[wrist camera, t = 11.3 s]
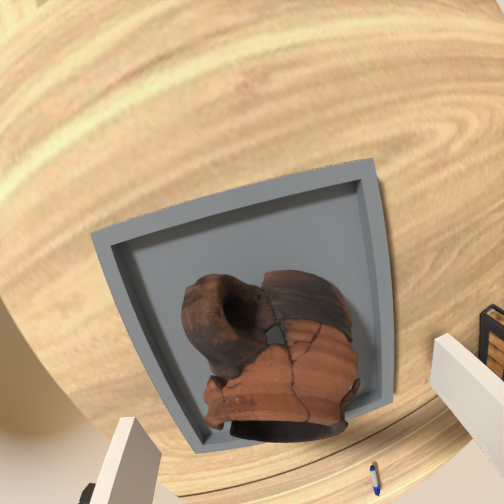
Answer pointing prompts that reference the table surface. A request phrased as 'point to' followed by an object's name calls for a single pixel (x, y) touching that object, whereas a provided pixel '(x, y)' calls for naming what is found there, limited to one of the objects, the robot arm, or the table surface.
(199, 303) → the broken brown clay pot
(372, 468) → the ballpoint pen
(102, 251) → the tray
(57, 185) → the table surface
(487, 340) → the ammunition clip
